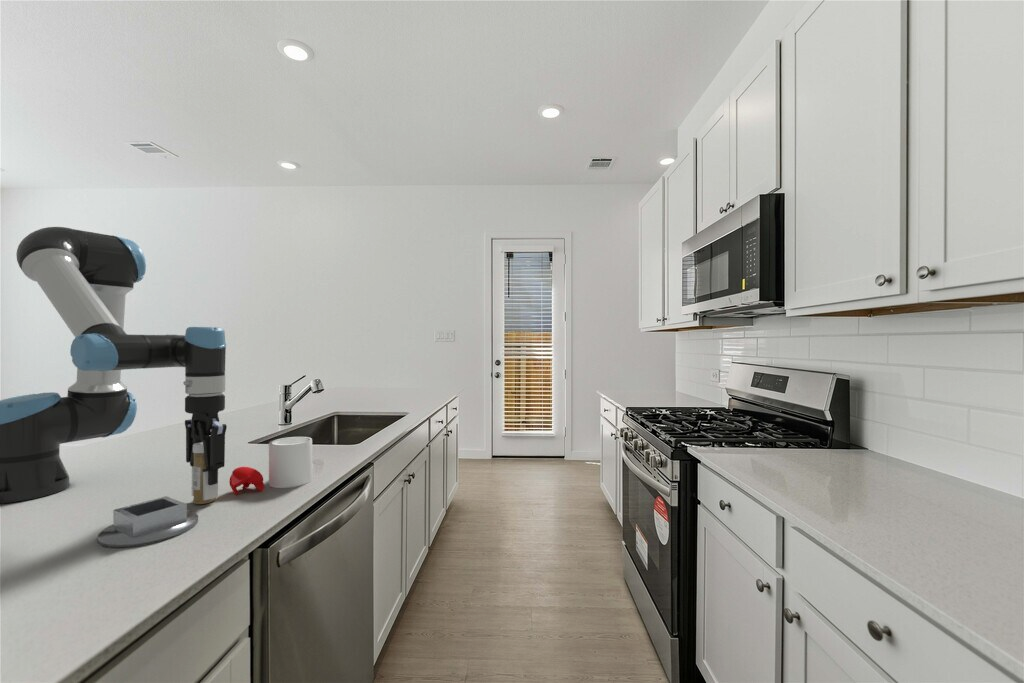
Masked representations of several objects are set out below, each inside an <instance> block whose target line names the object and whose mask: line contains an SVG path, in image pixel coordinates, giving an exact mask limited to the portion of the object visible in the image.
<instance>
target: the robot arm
mask: <svg viewBox="0 0 1024 683" xmlns="http://www.w3.org/2000/svg"><path fill="white" fill-rule="evenodd" d="M15 256H16V262H17V264H18V266H19V268H20V270H21V272H23V274H24V275H25V276H26V277H27V278H28V279H30V280H31V281H34V282H37V284H38V285H39V287H40V288H41V290H42V292H43V293H44V294H45V296H46V297H47V299H48V300H49V302H50V303H51V304H52V307H53V308H54V309H55V311H56V312H57V313H58V315H59V316H60V318H62V320H63V322H64V323H65V324H66V326H67V328H68V329H69V331H70V332H71V333H72V335H73V337H74V338H73V340H72V341H71V342H72V343H71V344H70V348H69V349H70V351H69V352H70V357H71V362H72V364H73V366H74V367H75V368H76V369H77V370H76V381H75V382H74V383H73V384H71V385H70V386H69V387H67V396H62V397H61V395H60V393H58V392H40V393H32V394H30V393H29V394H25V395H17V396H13V397H9V398H4V399H0V504H8V503H9V504H10V503H15V502H23V501H28V500H33V499H38V498H43V497H46V496H50V495H53V494H56V493H59V492H62V491H64V490H66V489H67V488H69V487H70V475H69V473H68V471H67V469H66V467H65V465H64V463H63V461H62V458H61V456H60V447H61V444H67V443H72V442H79V441H85V440H86V441H87V440H92V439H97V438H108V437H111V436H115V435H120V434H122V433H125V432H126V431H127V430H128V429H129V428H130V427H131V426H132V425H133V423H134V421H135V420H136V416H137V410H138V407H137V406H138V405H137V402H136V397H135V395H134V394H133V393H132V392H130V391H128V386H127V385H125V384H124V383H123V382H122V381H121V374H122V371H124V370H138V369H159V368H160V369H161V368H185V370H184V372H185V374H184V376H185V379H184V380H185V381H183V385H184V386H185V387H184V388H185V394H187V396H186V397H185V398H184V411H185V413H187V414H192V415H191V418H190V419H185V420H184V426H185V427H184V428H185V462H186V463H189V465H190V467H191V496H192V497H194V489H193V466H194V454H193V444H195V443H199V442H203V446H204V457H205V467H206V469H203V470H202V471H203V500H209V499H212V498H216V499H217V498H218V497H219V469H221V468H224V467H225V462H226V460H225V454H226V432H227V427H228V426H227V424H226V423H220V417H219V413H220V412H223V411H224V410H225V409H226V395H225V394H223V393H225V391H226V354H227V353H226V349H227V343H226V332H225V329H224V328H222V327H217V326H215V327H214V326H188V327H187V328H186V329H185V334H184V335H183V334H181V335H180V334H127V332H125V330H124V326H125V311H126V310H125V309H126V295H127V294H128V293H130V292H131V291H132V290H134V285H135V284H136V283H139V282H140V281H142V280H143V279H144V276H145V274H146V268H147V264H146V258H145V255H144V252H143V250H142V248H141V247H140V246H139V245H138V244H137V243H136V242H134V241H133V240H131V239H128V238H124V237H119V236H117V235H110V234H106V233H105V234H104V233H98V232H91V231H86V230H81V229H75V228H70V227H64V226H48V227H43V228H39V229H37V230H34V231H32V232H29V234H27V235H26V236H25V237H24V238H23V239H22V240H21V241H20V243H19V244H18V246H17V249H16V255H15Z"/></svg>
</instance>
